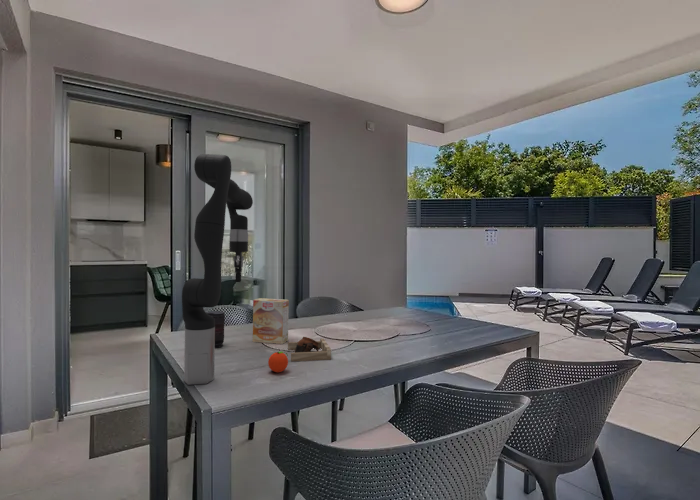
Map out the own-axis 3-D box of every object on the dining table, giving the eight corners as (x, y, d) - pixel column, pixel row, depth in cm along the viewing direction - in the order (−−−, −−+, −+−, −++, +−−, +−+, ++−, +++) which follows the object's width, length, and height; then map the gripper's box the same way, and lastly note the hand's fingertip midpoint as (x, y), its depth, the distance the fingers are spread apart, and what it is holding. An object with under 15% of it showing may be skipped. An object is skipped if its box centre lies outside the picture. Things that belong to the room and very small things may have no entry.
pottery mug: (290, 354, 161) (298, 335, 164) (310, 363, 163) (318, 344, 166) (296, 354, 150) (305, 334, 153) (318, 363, 152) (326, 344, 155)
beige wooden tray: (330, 359, 152) (331, 349, 152) (291, 361, 149) (291, 351, 149) (323, 347, 170) (323, 338, 170) (287, 349, 166) (288, 339, 166)
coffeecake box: (252, 342, 178) (252, 299, 177) (259, 338, 184) (259, 297, 184) (282, 344, 174) (283, 301, 174) (288, 340, 181) (289, 299, 181)
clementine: (281, 366, 142) (281, 347, 142) (294, 370, 138) (294, 351, 138) (263, 372, 136) (264, 351, 136) (276, 376, 132) (277, 355, 131)
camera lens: (218, 349, 164) (218, 314, 164) (201, 348, 166) (201, 313, 166) (228, 344, 172) (228, 311, 172) (211, 343, 174) (211, 310, 174)
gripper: (247, 240, 156) (246, 283, 157) (248, 240, 169) (248, 280, 169) (228, 240, 155) (227, 283, 155) (230, 240, 168) (230, 280, 168)
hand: (238, 281), depth 162 cm, fingers closed
